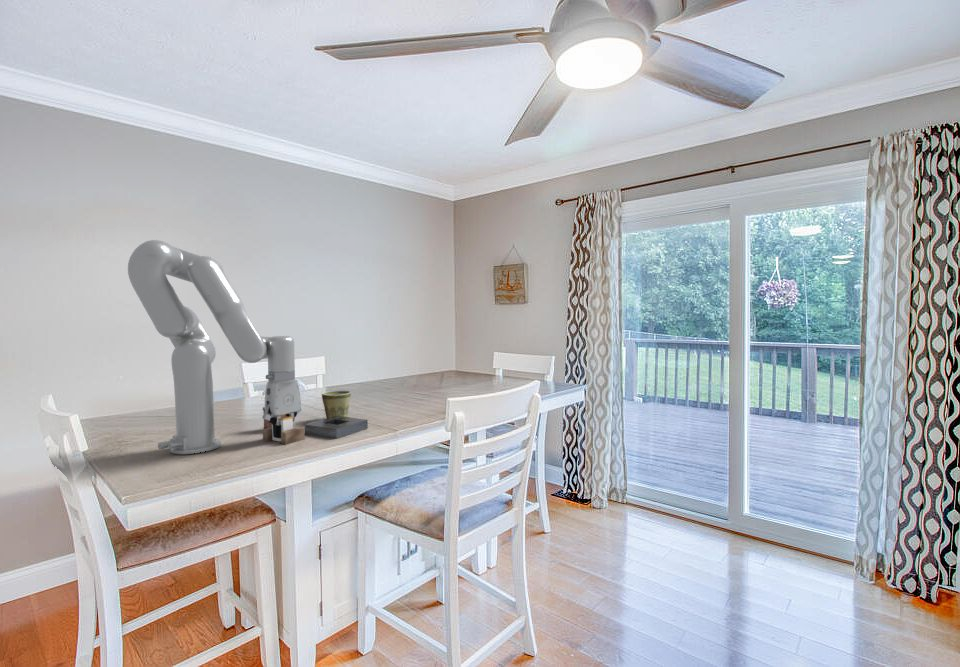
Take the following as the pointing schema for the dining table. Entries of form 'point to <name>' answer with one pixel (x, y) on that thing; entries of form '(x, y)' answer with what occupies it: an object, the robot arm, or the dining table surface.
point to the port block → (336, 426)
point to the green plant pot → (336, 403)
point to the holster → (286, 435)
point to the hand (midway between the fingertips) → (283, 435)
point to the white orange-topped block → (284, 425)
